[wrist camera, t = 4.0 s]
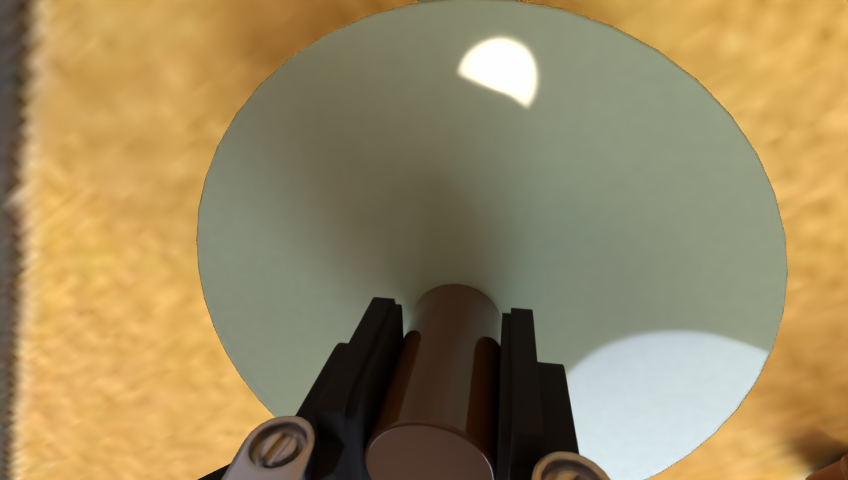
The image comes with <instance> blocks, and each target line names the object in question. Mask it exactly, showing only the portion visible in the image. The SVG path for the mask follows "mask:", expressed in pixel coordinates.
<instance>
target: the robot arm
mask: <svg viewBox="0 0 848 480" xmlns="http://www.w3.org/2000/svg"><path fill="white" fill-rule="evenodd" d="M403 339H404V333H403V313H402V305H401V304H396V302H395V299H394V298H381V297H373V299H372V300H371V302H370V304H369V306H368V308H367V310H366V311H365V313H364V315H363V317H362V319H361V321H360V323H359V324H358V326H357V328H356V330H355V332H354V334H353V335H352V337H351V339H350V341H349V343H342V342H340V343H338V344H337V345H336V346H335V348H334V349H333V351H332V353H331V354H330V356H329V358H328V360H327V361H326V363H325V365H324V367H323V368H322V370H321V372H320V374H319V375H318V377H317V379H316V380H315V382H314V384H313V386H312V387H311V389H310V391H309V393H308V394H307V396H306V398H305V400H304V401H303V403H302V405H301V406H300V408H299V410H298V412H297V413H296V415H295V416H280V417H277V418H273V419H270V420H268V421H266V422H264V423H262V424H260V425H259V426H258V427H257V428H255V429H254V430H253V431H252V432H251V433H250V434H249V435H248V437H247V438H246V439H245V440H244V442H243V444H242V445H241V447H240V449H239V450H238V452H237V454H236V456H235V457H234V459H233V461H232V462H231V463H230V464H228V465H226V466H224V467H222V468H220V469H218V470H216V471H214V472H212V473H210V474H208V475H206V476H204V477H202V478H200V479H198V480H370V478H369V476H368V475H367V472H366V469H365V465H364V448H365V445H366V442H367V439H368V437H369V434H370V431H371V428H372V426H373V423H374V420H375V417H376V414H377V412H378V409H379V406H380V403H381V400H382V398H383V395H384V392H385V389H386V386H387V384H388V381H389V378H390V375H391V372H392V370H393V367H394V364H395V361H396V358H397V356H398V353H399V350H400V347H401V345H402V342H403ZM496 480H610V478H609V477H608V475H607V474H606V472H605V471H604V470H602V469H601V468H600V467H599V466H598V465H597V464H596V463H595V462H593V461H591V460H589V459H588V458H586V457H584V456H582V455H580V454H579V448H578V442H577V437H576V431H575V425H574V419H573V414H572V408H571V402H570V396H569V390H568V385H567V379H566V373H565V368H564V365H563V364H555V363H545V362H538V361H537V350H536V339H535V328H534V317H533V310H532V309H522V308H511V313H502V327H501V343H500V373H499V409H498V444H497V474H496Z"/></svg>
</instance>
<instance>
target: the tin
mask: <svg viewBox="0 0 848 480" xmlns="http://www.w3.org/2000/svg"><path fill="white" fill-rule="evenodd" d="M806 480H848V454H846V455H844V456H842V458H841V460H839V461H837V462H835V463H833V464H831V465H829V466H827V467H825V468H823V469H821V470H818V471H816V472H815V473H813V474H811V475H810V476H808V477H807V478H806Z"/></svg>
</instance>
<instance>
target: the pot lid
mask: <svg viewBox="0 0 848 480" xmlns="http://www.w3.org/2000/svg"><path fill="white" fill-rule="evenodd" d="M197 254H198V269H199V275H200V280H201V285H202V289H203V294H204V299H205V302H206V305H207V308H208V311H209V314H210V317H211V320H212V323H213V326H214V328H215V330H216V333H217V335H218V337H219V339H220V341H221V343H222V345H223V347H224V349H225V352H226V353H227V355H228V357H229V358H230V360H231V362H232V363H233V365H234V366H235V368H236V370H237V371H238V373H239V374H240V376H241V378H242V379H243V380H244V381H245V383H246V384H247V385H248V387H249V388H250V389H251V390H252V392H253V393H254V394H255V396H256V397H257V398H258V399H259V401H260V402H261V403H262V404H263V405H264V406H265V407H266V408H267V409H268V410H269V411H270V412H271V413H272V414H273V415H274V416H275V417H276V418H277V417H280V416H295V415H296V413H297V412H298V410H299V408H300V406H301V405H302V403H303V401H304V400H305V398H306V396H307V394H308V393H309V391H310V389H311V387H312V386H313V384H314V382H315V380H316V379H317V377H318V375H319V374H320V372H321V370H322V368H323V367H324V365H325V363H326V361H327V360H328V358H329V356H330V354H331V353H332V351H333V349H334V348H335V346H336V345H337V344H338V343H340V342H342V343H349V341H350V339H351V337H352V335H353V334H354V332H355V330H356V328H357V326H358V324H359V323H360V321H361V319H362V317H363V315H364V313H365V311H366V310H367V308H368V306H369V304H370V302H371V300H372V299H373V297H381V298H394V299H395V302H396V304H401V305H402V313H403V333H404V339H403V342H402V345H401V347H400V350H399V353H398V356H397V358H396V361H395V364H394V367H393V370H392V372H391V375H390V378H389V381H388V384H387V386H386V389H385V392H384V395H383V398H382V400H381V403H380V406H379V409H378V412H377V414H376V417H375V420H374V423H373V426H372V428H371V431H370V434H369V437H368V439H367V442H366V445H365V448H364V465H365V469H366V472H367V475H368V476H369V478H370V480H496V474H497V444H498V409H499V373H500V343H501V327H502V313H511V308H522V309H532V310H533V317H534V328H535V339H536V350H537V361H538V362H545V363H555V364H563V365H564V368H565V373H566V379H567V385H568V390H569V396H570V402H571V408H572V414H573V419H574V425H575V431H576V437H577V442H578V448H579V454H580V455H582V456H584V457H586V458H588V459H589V460H591V461H593V462H595V463H596V464H597V465H598V466H599V467H600V468H601V469H602V470H604V471H605V472H606V474H607V475H608V477H609V478H610V480H646V479H648V478H650V477H652V476H654V475H656V474H658V473H660V472H663V471H664V470H666V469H667V468H669V467H670V466H672V465H673V464H675V463H677V462H678V461H680V460H681V459H683V458H684V457H686V456H687V455H689V454H690V453H692V452H693V451H694V450H695V449H696V448H698V447H699V446H700V445H701V444H702V443H704V442H705V441H706V440H707V439H708V438H710V437H711V436H712V435H713V434H714V433H716V432H717V430H718V429H719V428H720V427H721V426H722V425H723V424H724V423H725V422H726V421H727V420H728V418H729V417H730V416H731V415H732V414H733V413H734V412H735V411H736V410H737V409H738V408H739V406H740V405H741V403H742V402H743V400H744V399H745V397H746V396H747V394H748V393H749V391H750V390H751V389H752V387H753V386H754V384H755V383H756V381H757V380H758V378H759V376H760V374H761V372H762V370H763V367H764V365H765V363H766V361H767V359H768V357H769V355H770V353H771V351H772V349H773V346H774V343H775V339H776V336H777V332H778V329H779V325H780V322H781V319H782V315H783V311H784V302H785V293H786V284H787V275H788V273H787V258H786V242H785V232H784V228H783V224H782V220H781V216H780V212H779V208H778V204H777V200H776V196H775V193H774V190H773V188H772V186H771V184H770V181H769V179H768V177H767V175H766V172H765V170H764V168H763V166H762V163H761V161H760V159H759V157H758V154H757V153H756V151H755V150H754V148H753V147H752V145H751V144H750V142H749V141H748V139H747V138H746V136H745V135H744V133H743V132H742V130H741V129H740V127H739V126H738V124H737V123H736V121H735V120H734V119H733V117H732V116H731V114H730V113H729V112H728V111H727V110H726V109H725V108H724V107H723V106H722V105H721V104H720V103H719V102H718V101H717V100H716V99H715V98H714V97H713V96H712V94H711V93H710V92H709V91H708V90H707V89H706V88H705V87H704V86H703V85H702V84H701V83H700V82H699V81H698V80H697V79H696V78H694V77H693V76H692V75H690V74H689V73H688V72H686V71H685V70H684V69H682V68H681V67H680V66H678V65H677V64H676V63H674V62H673V61H672V60H670V59H669V58H668V57H666V56H665V55H664V54H662V53H661V52H660V51H658V50H657V49H655V48H653V47H651V46H649V45H647V44H645V43H644V42H642V41H640V40H638V39H636V38H634V37H632V36H630V35H628V34H627V33H625V32H623V31H621V30H619V29H617V28H615V27H613V26H611V25H608V24H605V23H602V22H599V21H597V20H594V19H591V18H588V17H585V16H582V15H579V14H576V13H573V12H570V11H568V10H565V9H561V8H555V7H550V6H544V5H539V4H533V3H528V2H522V1H517V0H440V1H431V2H423V3H414V4H409V5H406V6H402V7H398V8H395V9H391V10H388V11H384V12H380V13H377V14H373V15H369V16H366V17H364V18H362V19H359V20H357V21H355V22H353V23H350V24H348V25H346V26H344V27H341V28H339V29H337V30H335V31H332V32H330V33H328V34H326V35H324V36H323V37H321V38H319V39H318V40H316V41H315V42H313V43H312V44H310V45H309V46H307V47H306V48H304V49H302V50H301V51H299V52H298V53H296V54H295V55H293V56H292V57H290V58H289V59H288V60H287V61H286V62H284V63H283V64H282V65H281V66H280V67H279V68H278V69H277V70H276V71H274V72H273V73H272V74H271V75H270V76H269V77H268V78H267V79H266V80H264V81H263V82H262V83H261V84H260V85H259V86H258V88H257V89H256V90H255V91H254V93H253V94H252V95H251V96H250V97H249V99H248V100H247V101H246V102H245V104H244V105H243V106H242V107H241V109H240V110H239V111H238V112H237V113H236V115H235V117H234V119H233V120H232V122H231V124H230V125H229V127H228V129H227V131H226V132H225V134H224V136H223V138H222V139H221V141H220V143H219V144H218V147H217V149H216V152H215V154H214V157H213V160H212V162H211V165H210V167H209V170H208V173H207V175H206V178H205V183H204V187H203V192H202V196H201V201H200V205H199V212H198V226H197Z"/></svg>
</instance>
